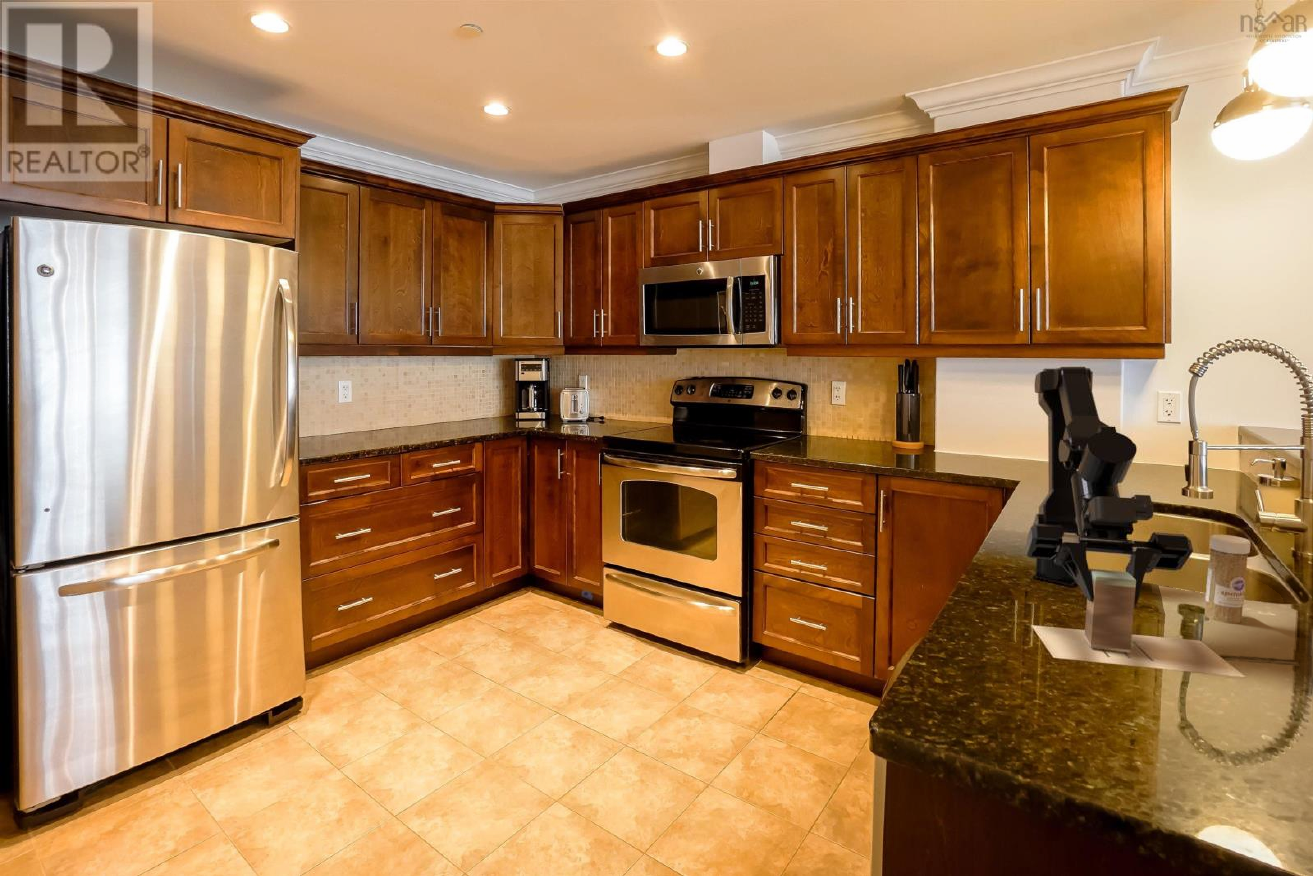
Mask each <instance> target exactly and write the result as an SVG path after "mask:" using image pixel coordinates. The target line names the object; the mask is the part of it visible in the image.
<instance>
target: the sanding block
mask: <svg viewBox="0 0 1313 876" xmlns="http://www.w3.org/2000/svg"><path fill="white" fill-rule="evenodd" d="M1089 572H1090V576H1091V580H1092V584H1093V590H1094V600H1093V601H1089V600H1088V598H1087V597H1086V608H1085V609H1086V611H1085V621H1084V622H1085V623H1084V624H1085V626H1084V630H1085V636H1084V638H1085V639H1086V641H1087V643H1088V644H1089V646H1090V648H1096V649H1104V650H1112V651H1120V652H1127V653H1130V650H1131V637H1132V635H1133V623H1134V622H1133V621H1134V610H1135V606H1134V600H1135V588H1136V580H1135V579H1134V578H1133V577H1132V576H1131V575H1130V574H1129V573H1128V572H1126V571H1121V570H1119V571H1118V570H1111V569H1110V570H1108V569H1098V568H1097V569H1096V568H1089Z"/></svg>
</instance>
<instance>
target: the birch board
mask: <svg viewBox="0 0 1313 876" xmlns="http://www.w3.org/2000/svg"><path fill="white" fill-rule="evenodd" d="M1031 627H1032V629H1033V630H1034V631H1035V633H1036V634H1037V636H1038V637H1039V638H1040V640H1041V642H1042V643H1043V645H1044V646H1045V648H1046V649H1047V651H1048V652H1049V653H1050V654H1051V656H1052V657H1053V658H1054V659H1061V660H1062V659H1063V660H1069V661H1070V660H1071V661H1080V662H1092V663H1101V664H1111V665H1118V666H1119V665H1120V666H1131V667H1139V668H1148V669H1157V670H1158V669H1159V670H1169V671H1178V672H1179V671H1180V672H1186V673H1187V672H1188V673H1198V674H1204V675H1205V674H1206V675H1217V676H1226V677H1237V678H1247V677H1246V676H1245V675H1243V674H1242V673H1241V672H1240V671H1238V670H1237V669H1236V668H1235V667H1234V666H1232V665H1231V664H1230V663H1228V662H1227V661H1226V660H1225V659H1223V658H1222V657H1221V656H1220V655H1219V654H1217V653H1216V652H1215V651H1214V650H1213V649H1211V648H1210V647H1209V646H1208V645H1206V644H1205V643H1204V642H1202V640H1197V639H1185V638H1174V637H1166V636H1165V637H1164V636H1163V637H1162V636H1155V635H1153V636H1151V635H1142V634H1132V637H1131V650H1130V653H1127V652H1120V651H1112V650H1104V649H1096V648H1090V646H1089V644H1088V643H1087V641H1086V639H1085V638H1084V636H1085V629H1078V628H1077V629H1075V628H1067V627H1065V628H1063V627H1056V626H1055V627H1053V626H1045V625H1043V626H1042V625H1033V624H1031Z"/></svg>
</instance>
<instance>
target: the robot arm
mask: <svg viewBox="0 0 1313 876" xmlns="http://www.w3.org/2000/svg"><path fill="white" fill-rule="evenodd" d="M1093 376H1094V371H1092V370H1091V368H1089V367H1088V368H1087V367H1085V366H1060V367H1059V368H1058V367H1057V368H1056V367H1055V368H1043V369H1042V371H1040V372H1038V373H1037V374H1036V375H1035V377H1034V393H1035V394H1037V399H1038V405H1039V407H1040V408H1041V410H1043V412H1044V413H1045V415H1046V416H1047V421H1048V422H1047V425H1048V426H1047V429H1048V431H1047V433H1048V435H1047V436H1048V437H1047V438H1048V441H1047V442H1048V445H1047V446H1048V453H1047V454H1048V459H1047V461H1048V466H1047V467H1048V468H1047V469H1048V494H1046V496H1045V498H1044V499H1042V500H1043V501H1041V503H1040V505H1039V507H1038V513H1036V514H1035V517H1034V520H1033V523H1032V525H1031V527H1030V528H1029V531H1028V535H1027V537H1026V541H1025V542H1026V544H1025V549H1026V550H1025V551H1026V556H1027V557H1028V558H1029V559H1036V563H1035V573H1032V575H1031V578H1032V577H1037V578H1041V579H1045V580H1048V581H1047V582H1049V581H1051V582H1050V583H1053V582H1057V583H1056V584H1058V583H1061V584H1060V585H1062V584H1064V585H1063V586H1066V585H1067V587H1071V586H1074V585H1075V584H1077V586H1078V587H1079V588H1080V590H1081V591H1082V593H1083V594H1084V595H1085V597H1086V599H1087V598H1088V600H1089V601H1093V600H1094V590H1093V584H1092V580H1091V576H1090V572H1089V569H1090V568H1089V564H1088V559H1087V552H1089V553H1090V552H1092V553H1103V554H1106V553H1107V554H1115V555H1127V556H1128V559H1129V562H1128V563H1127V565H1126V567H1125V572H1128V573H1129V574H1130V575H1131V576H1132V577H1133V578H1134V579H1135V580H1136V588H1135V600H1134V607H1136V606H1137V604H1138V603H1139V599H1140V596H1141V595H1140V594H1141V591H1142V587H1143V582H1144V578H1145V575H1146V574H1149V573H1152V572H1153V571H1154V570H1162V571H1163V570H1164V571H1174V572H1175V571H1178V570H1181V569H1182V568H1183V567H1184V565H1185V564H1186V562H1188V560H1189V559H1190V557H1191V555H1192V554H1193V552H1194V547H1193V545H1192V541H1191V539H1190V538H1189V537H1188V536H1186V535H1184V534H1183V533H1174V532H1173V533H1171V532H1160V531H1159V532H1156V531H1154V532H1152V533H1151V535H1150V537H1149V539H1148V540H1147V541H1141V540H1133V539H1128V535H1132V534H1134V533H1133V532H1134V530H1135V529H1134V526H1133V525H1134V524H1138V522H1139V521H1145V522H1146V521H1149V520H1150V519H1152V518H1153V516H1154V504H1153V502H1152V498H1151V495H1150V494H1149V495H1147V494H1134V495H1133V496H1131V497H1122V496H1121V495H1120V492H1119V491H1120V489H1119V484H1122V482H1124V481H1125V478H1126V477H1127V474H1128V471H1129V470H1130V467H1131V465H1132V463H1133V460H1134V458H1135V457H1136V453H1137V450H1138V448H1137V445H1136V443H1135V442H1133V440H1132V439H1131V438H1130V437H1129V436H1126V435H1125V434H1122V433H1121V432H1117V429H1116V426H1110V425H1108V424H1106V423H1105V422H1103V421H1101V419H1100V417H1099V413H1098V410H1097V405H1096V402H1095V397H1094V393H1093ZM1045 580H1044V581H1045ZM1074 583H1075V584H1074ZM1073 584H1074V585H1073Z"/></svg>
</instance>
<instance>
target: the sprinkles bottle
mask: <svg viewBox="0 0 1313 876" xmlns="http://www.w3.org/2000/svg"><path fill="white" fill-rule="evenodd" d="M1208 548H1209V552H1210V553H1209V561H1208V567H1207V568H1208V569H1207V576H1206V577H1207V579H1206V589H1205V606H1204V617H1206V618H1207V619H1210V620H1212V621H1216V622H1219V623H1224V624H1234V625H1237V624H1240V623H1242V620H1243V619H1242V617H1243V609H1244V604H1245V595H1246V582H1247V581H1246V579H1247V567H1248V566H1247V565H1248V556H1249V554H1250V552H1251V541H1250V539H1247V538H1244V537H1240V536H1235V535H1229V534H1213V535H1210V539H1209V547H1208Z"/></svg>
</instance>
